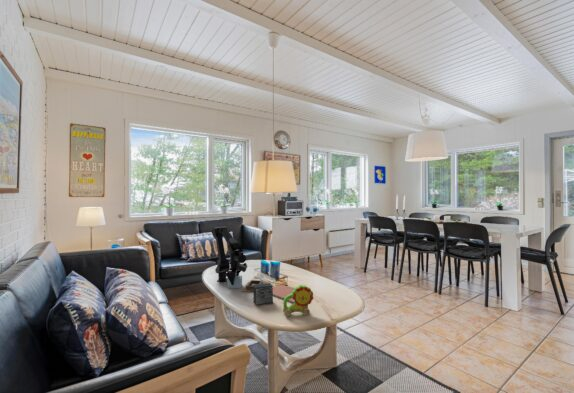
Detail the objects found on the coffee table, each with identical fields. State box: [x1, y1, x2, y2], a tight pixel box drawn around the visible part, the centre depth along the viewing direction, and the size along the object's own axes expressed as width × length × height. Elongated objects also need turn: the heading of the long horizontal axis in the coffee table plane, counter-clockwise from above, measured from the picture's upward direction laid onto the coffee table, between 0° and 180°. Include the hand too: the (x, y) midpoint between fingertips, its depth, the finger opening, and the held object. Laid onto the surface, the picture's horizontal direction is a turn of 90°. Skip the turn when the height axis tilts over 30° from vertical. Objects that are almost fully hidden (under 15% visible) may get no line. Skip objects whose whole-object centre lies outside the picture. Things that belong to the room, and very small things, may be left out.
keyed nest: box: [241, 279, 268, 293], centre depth 195 cm, size 18×13×3 cm
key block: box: [226, 275, 243, 289], centre depth 198 cm, size 4×9×7 cm, turn 83°
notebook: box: [273, 284, 295, 304], centre depth 183 cm, size 27×17×2 cm, turn 45°
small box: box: [252, 282, 274, 306], centre depth 169 cm, size 11×6×10 cm, turn 109°
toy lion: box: [283, 284, 314, 318], centre depth 153 cm, size 16×5×15 cm, turn 99°
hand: (234, 283), depth 198 cm, fingers open, 9 cm apart
